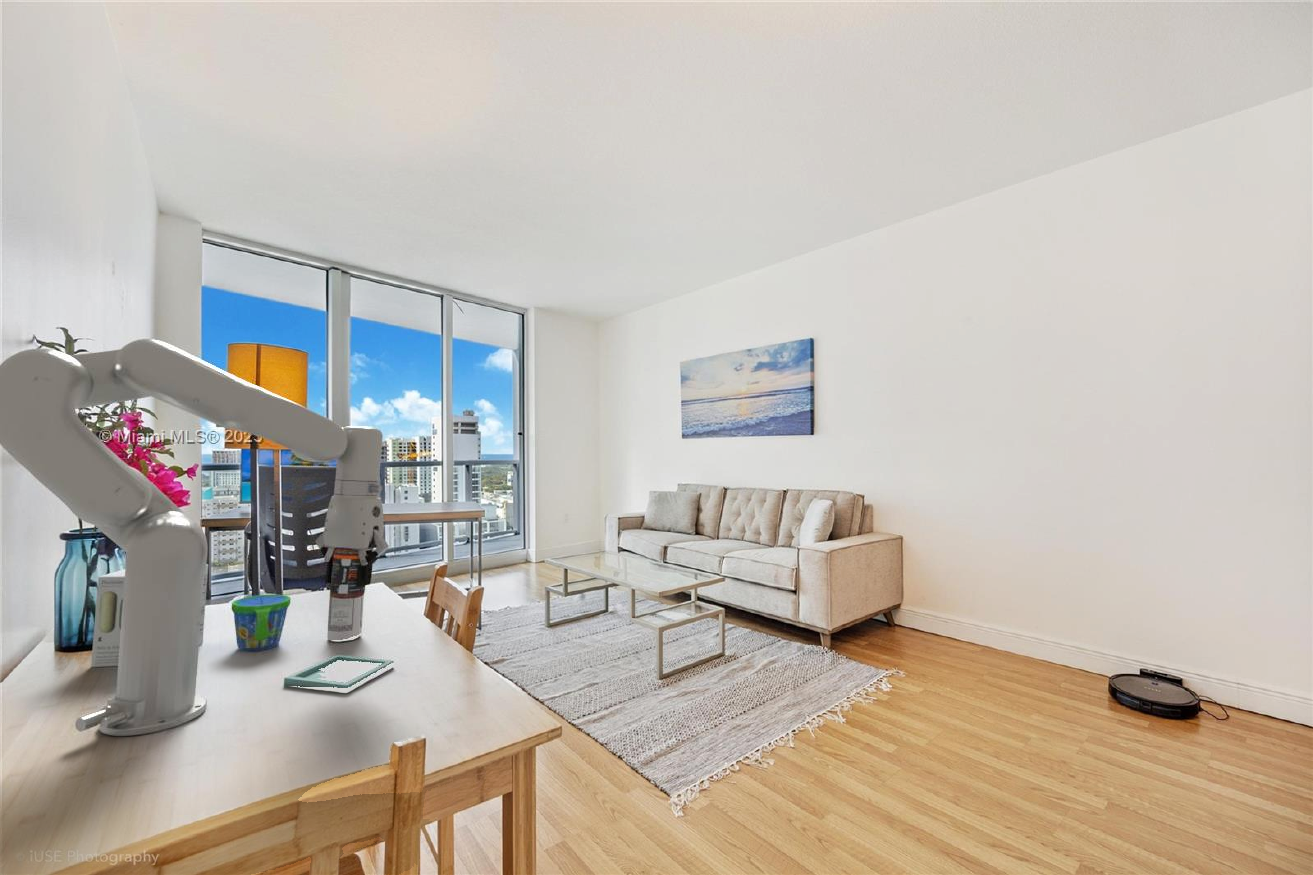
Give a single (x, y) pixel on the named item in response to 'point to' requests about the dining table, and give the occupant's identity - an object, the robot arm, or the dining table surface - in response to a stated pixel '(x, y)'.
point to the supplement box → (118, 618)
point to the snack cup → (259, 621)
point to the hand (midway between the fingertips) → (348, 582)
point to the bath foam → (345, 618)
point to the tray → (310, 676)
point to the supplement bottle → (345, 574)
